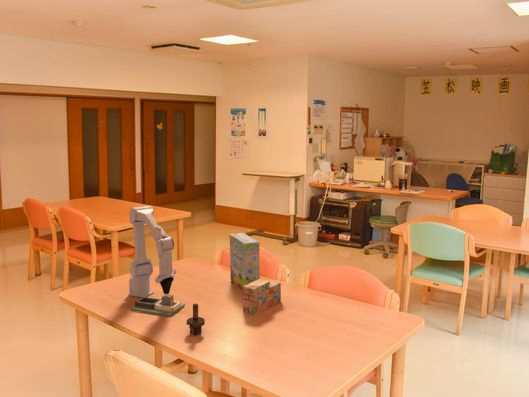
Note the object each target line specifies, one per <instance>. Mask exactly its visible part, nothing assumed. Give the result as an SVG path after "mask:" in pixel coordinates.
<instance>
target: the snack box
mask: <svg viewBox="0 0 529 397" xmlns="http://www.w3.org/2000/svg"><path fill="white" fill-rule="evenodd" d="M228 236H229V257H230V259H229V261H230V281H231V282H232V283H233V284H234V285H236V286H237V288H239V289H240V290H241V291H243V286H245V285H247V284H249V283H252V282H254V281H256V280H258V279H261V277H260V272H261V271H260V268H261V267H260V241H259V240H256V239H255V238H253V237H251V236H249V235H247V234H246V233H244V232H239V233H229V235H228Z"/></svg>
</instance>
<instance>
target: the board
mask: <svg viewBox="0 0 529 397" xmlns="http://www.w3.org/2000/svg"><path fill="white" fill-rule="evenodd" d="M134 303H135V304H134V305H133V307H130V311H132V312H138V313H139V312H140V313H145V314H150V315H151V314H152V315H156V316H163V317H172V316H173V315H174V314H177V312H179V311H180V310H181V309H183V308H185V306H186V304H185V303H182V301H181V302H180V301H176V300H174V306H173V307H171V306H164V305H162V298H154V297H148V296H147V297H140V299H137V300H136V301H135V302H134Z"/></svg>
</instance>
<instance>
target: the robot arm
mask: <svg viewBox="0 0 529 397" xmlns="http://www.w3.org/2000/svg"><path fill="white" fill-rule="evenodd" d="M128 214H129V215H128V216H129V223H130V225H132V228H133V240H134V250H135V251H134V252H135V257H134V258H133V259H132V260H131V261H130V264H129V265H130V266H129V273H130V277H129V280H128V288H129V289H128V291H129V292H128V296H131V297H140V298H143V297H148V296H150V295H152V294H154V293H155V292H154V291H152V290H151V288H150V286H151V282H150V281H151V280H150V277H151V275H153V272H154V266H153V264H152V259H151V258H149V257H148V256H147V250H146V236H145V224H146V226H147V227H148V228H149V230H150V235H151V237H152V238H153V240H154V242H155V243H156V244H155V248H156V251H157V255H158V269H159V270H158V275H157V277H156V278H154V279H155V280H154V282H155V284H160V286H161V289H162V292H163V295H165V294H168V295H170V292H171V289H172V288H171V287H172V284H173V282H174V279H175V278H174V276H175V275H176V274H177V269H174V268H173V252H172V251H173V250H174V248H175V242H174V239H173V237H172V236H170V235H167V233H166V231H165V230H164V229H163V227H162V226H160V225H158V223H157V220H155V217H154V208H153V207H152V205H145V206H136V207H135V206H134V207H133V206H132V207H131V208H130V209H129V212H128Z"/></svg>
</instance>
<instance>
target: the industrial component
mask: <svg viewBox="0 0 529 397" xmlns="http://www.w3.org/2000/svg"><path fill="white" fill-rule="evenodd" d="M205 324H206V323H205V318H203V317H201V316H199V304H198V303H193V304H192V317H189V318H187V319H186V325H187V326H189V327H188V328H189V334H190V335H191V336H195V335H201V333H202V329H203V328H202V326H205Z"/></svg>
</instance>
